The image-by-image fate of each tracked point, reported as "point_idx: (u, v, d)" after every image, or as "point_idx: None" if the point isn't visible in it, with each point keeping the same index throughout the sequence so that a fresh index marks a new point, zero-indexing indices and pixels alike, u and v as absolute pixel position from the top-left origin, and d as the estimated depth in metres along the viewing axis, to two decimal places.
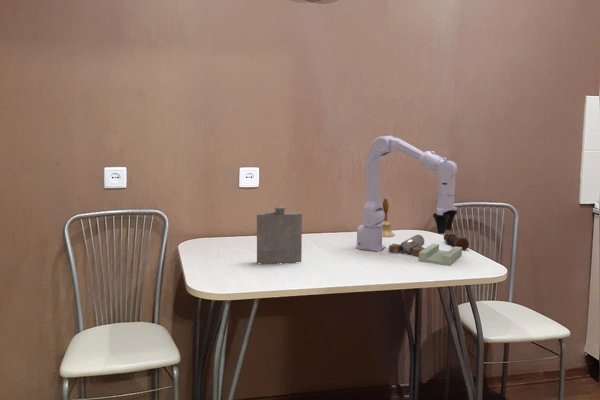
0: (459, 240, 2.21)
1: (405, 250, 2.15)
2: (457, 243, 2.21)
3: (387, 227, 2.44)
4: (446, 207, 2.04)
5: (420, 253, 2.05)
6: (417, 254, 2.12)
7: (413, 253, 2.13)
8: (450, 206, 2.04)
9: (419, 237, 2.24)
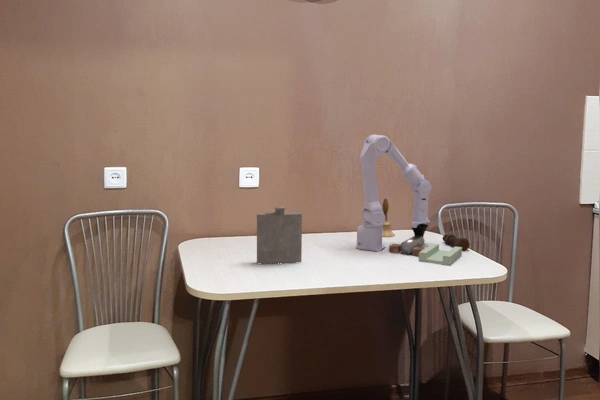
0: (460, 240, 2.20)
1: (405, 250, 2.15)
2: (458, 244, 2.20)
3: (387, 227, 2.44)
4: (420, 220, 2.24)
5: (420, 253, 2.05)
6: (417, 254, 2.12)
7: (413, 253, 2.13)
8: (424, 219, 2.24)
9: (420, 238, 2.23)
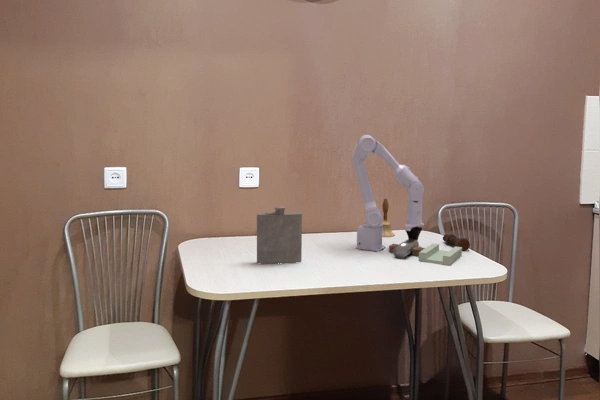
0: (460, 241, 2.20)
1: (399, 254, 2.09)
2: (458, 244, 2.20)
3: (387, 227, 2.44)
4: (414, 223, 2.18)
5: (420, 253, 2.05)
6: (417, 254, 2.12)
7: (413, 253, 2.13)
8: (418, 222, 2.18)
9: (414, 241, 2.17)
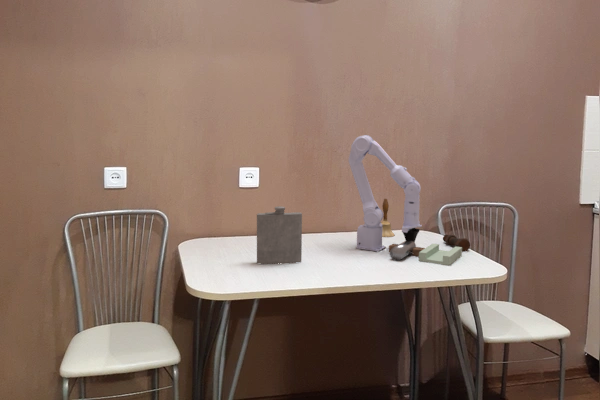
0: (461, 241, 2.20)
1: (395, 256, 2.06)
2: (459, 244, 2.20)
3: (387, 227, 2.44)
4: (411, 225, 2.15)
5: (420, 253, 2.05)
6: (417, 254, 2.12)
7: (413, 253, 2.13)
8: (415, 224, 2.15)
9: (411, 243, 2.14)
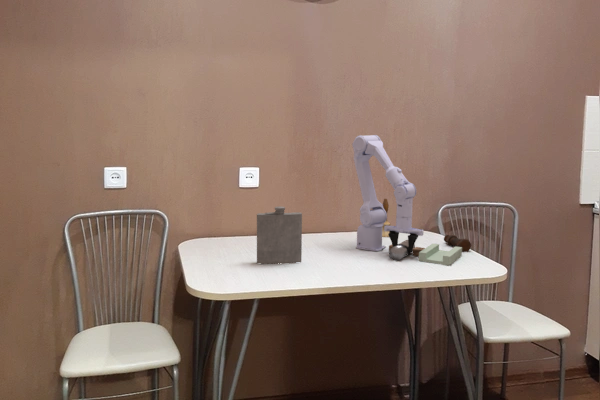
0: (462, 241, 2.19)
1: (395, 256, 2.06)
2: (460, 244, 2.19)
3: None
4: (395, 227, 2.11)
5: (420, 253, 2.05)
6: (417, 254, 2.12)
7: (413, 253, 2.13)
8: (397, 227, 2.10)
9: None
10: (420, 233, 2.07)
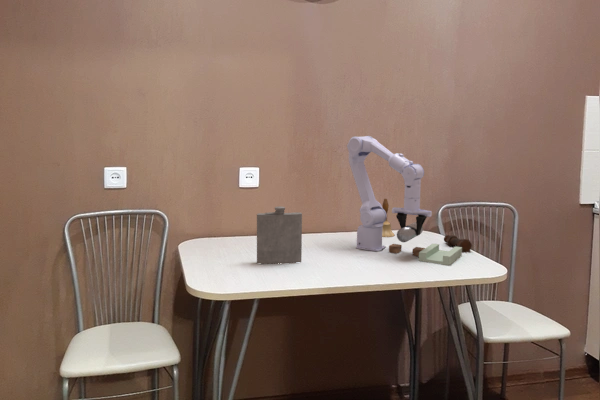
0: (462, 241, 2.19)
1: (403, 238, 2.04)
2: (460, 245, 2.19)
3: (387, 227, 2.44)
4: (403, 208, 2.10)
5: (420, 253, 2.05)
6: (417, 254, 2.12)
7: (413, 253, 2.13)
8: (405, 208, 2.08)
9: None
10: (428, 214, 2.05)
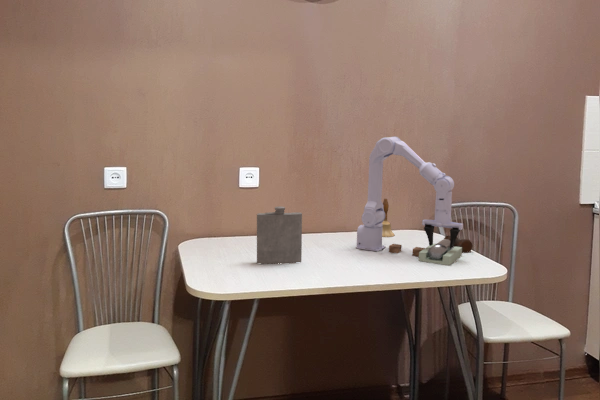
0: (463, 242, 2.18)
1: (434, 256, 2.03)
2: (461, 245, 2.18)
3: (387, 227, 2.44)
4: (434, 221, 2.08)
5: (420, 253, 2.05)
6: (417, 254, 2.12)
7: (413, 253, 2.13)
8: (436, 220, 2.07)
9: (447, 241, 2.11)
10: (460, 227, 2.04)
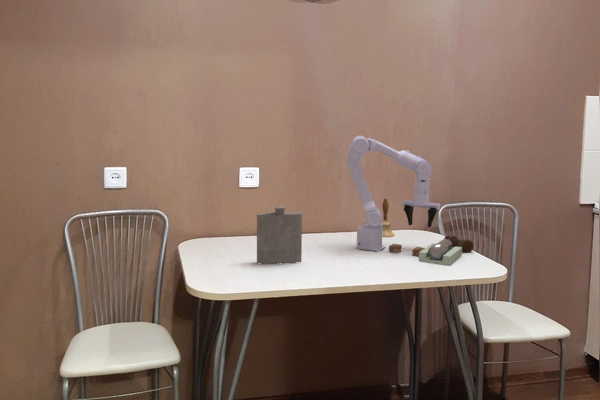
0: (464, 242, 2.17)
1: (434, 256, 2.03)
2: (462, 245, 2.17)
3: (387, 227, 2.44)
4: (413, 201, 2.20)
5: (420, 253, 2.05)
6: (417, 254, 2.12)
7: (413, 253, 2.13)
8: (414, 201, 2.18)
9: (447, 241, 2.11)
10: (437, 207, 2.15)
